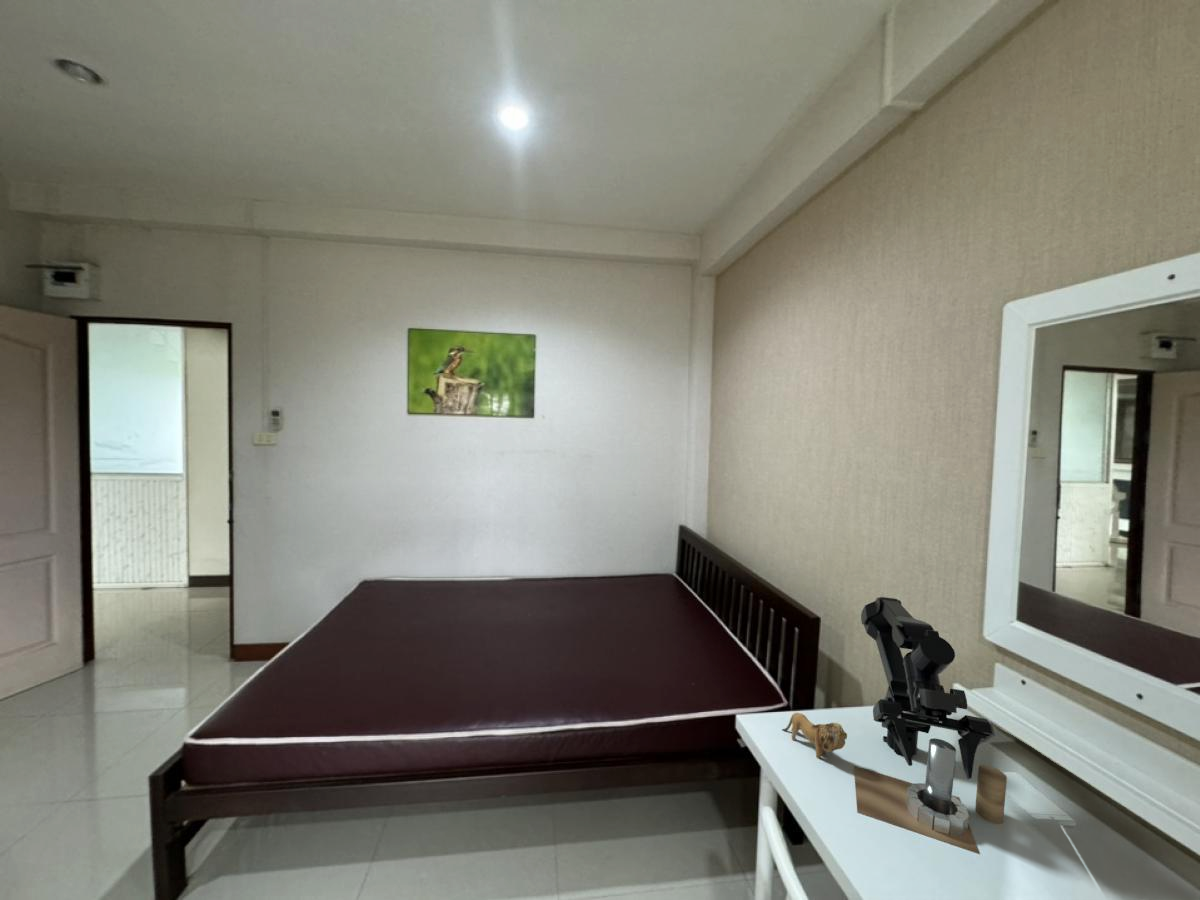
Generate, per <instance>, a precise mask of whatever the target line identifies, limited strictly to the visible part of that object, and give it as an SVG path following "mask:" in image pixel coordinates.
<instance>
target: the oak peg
mask: <svg viewBox="0 0 1200 900" xmlns="http://www.w3.org/2000/svg"><path fill="white" fill-rule="evenodd" d="M977 771H978V772H977V785H976V796H975V797H976V798H975V807H974V810H975V812H976V814H977V815H978V816H979V817H981V818H982V819H984V820H985V821H987V822H990V823H992V824H996V825H997V824H998V825H1000V824H1003V823H1004V817H1005V816H1004V814H1005V804H1006V803H1005V802H1006V795H1007V794H1006V782H1007V777H1006V775H1005V774H1004V773H1003V772H1004V771H1001V770H1000V769H999V768H996V767H993V766H992V765H991V766H990V765H986V764H980V765H979V766H978V770H977Z"/></svg>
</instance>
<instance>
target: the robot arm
mask: <svg viewBox="0 0 1200 900" xmlns="http://www.w3.org/2000/svg"><path fill="white" fill-rule="evenodd" d="M860 621H861V624H862V625H863V626H864V629H865V632H866V634H867V635H868V636H869V637H870V638H872V639H873V640H874V641H875V642H876V643H875V644H876V646H877V649H878V652H879V657H880V659H881V660H880V661H881V663H882V668H883V671H884V673H885V678H886V680H887V682H886V683H887V685H888V686H887V691H886V694H885V697H884V698H883V699H882V698H879V700H878V701H877V702H876V703H875V705H874V706H873V707H872V715H873V716H872V717H873V721H875V722H876V723H881V727H882V728H885V729H887V733H886V735H883V737H882V741H883V742H884V743H886V744H887V746H888V747H889V748H890V749H892V750H893V752H894V753H895V754H896V755H897V756H900V757H903V758H904V759H905V761H906V764H907V766H910V767H912V765H913V759H912V758H913V756H914V755H915V756H916V754H917V752H919V750H918V742H919V741H918V739H919V732H921V733H925V734H929V733H930V731H931V728H932V727H935V728H940V729H941V728H942V729H946V730H951V731H956V732H957V734H958V735H959V736H960V737H961V738H959V739H957V740H958V741H957V742H958V747H959V753H960V756H961V757H960V758H961V761H962V766H963V767H962V768H963V771H964V775H965V777H966V779H968V780H971V779H972V777H973V770H974V764H975V755H976V752H977V749H978V746H979V745H981V744H982V743H986V742H987V741H988V740H990V739H992V738H993V737H995V736H996V734H995V730H994V726H993V724H992V723H990V721H989V720H988V719H987V718H983V717H977V716H974V715H973V716H972V715H966V714H965V715H963V717H961V718H960V719H955V718H950V717H948V716H951V715H952V714H957V713H958V712H957V709H961V710H967V709H968V698H967V695H966V692H965V690H963V689H956V688H950V689H949V692H945V688H944V686H943V685H942V684H941V681H940V676H939V675H940V674H941V673H943V672H944V671H945V670H946V669H947V668H948V667H949V666H950V665H951V664H952V663H953V661H954V660H955V657H956V651H955V649H954V648H953V647H952V645H951V644H950V643H949V642H948V641H947V640H946V639H944V638H943V637H940V633H939V631H937V630H935V629H934V628H933V626H932V625H931V624H930V623H928V622H926V621H923V620H919V619H916V618H914V616H912V615H911V614H910V612H909V611H908V610H907V609H906V608H905V607H904V606H903V605H902V601H901V600H900V599H897V598H892V597H888V596H887V597H885V596H880V597H877V598H876V599H875V600H874V601H873V602H870V603H868V604H865V605H864V606H863V609H862V610H861V614H860ZM901 649H905V650H911V651H909V652H907V653H906V654H905V655H904V656H903V654H902V653H903V652H902V650H901Z"/></svg>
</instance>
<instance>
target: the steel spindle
mask: <svg viewBox="0 0 1200 900" xmlns="http://www.w3.org/2000/svg"><path fill="white" fill-rule="evenodd" d="M956 757H957V748H956V747H955V746H954V745H953V744H951V743H950V742H947V741H946V740H943V739H940V738H930V739H929V740H928V750H927V762H926V763H927V764H926V771H925V781H924V782H925V783H924V784H925V791H924V801H923V804H924V805H925V806H927V807H928V808H930V809H932V810H933V811H935V812H938V813H941V814H945V815H950V809H951V799H952V795H953V787H954V786H953V785H954V778H955V768H956Z"/></svg>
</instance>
